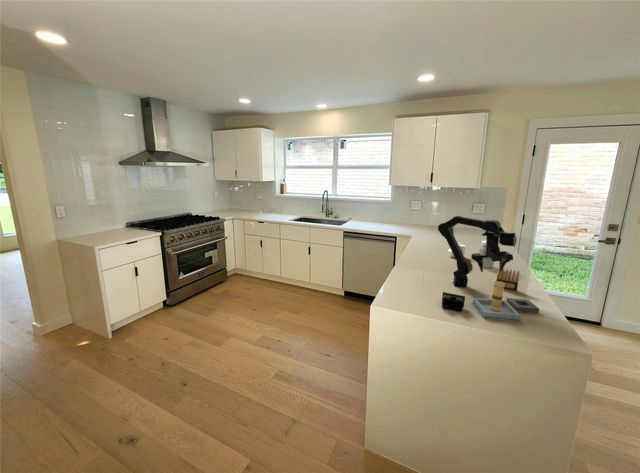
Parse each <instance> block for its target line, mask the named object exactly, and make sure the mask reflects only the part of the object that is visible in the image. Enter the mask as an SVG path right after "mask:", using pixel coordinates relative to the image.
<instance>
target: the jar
mask: <svg viewBox="0 0 640 473" xmlns="http://www.w3.org/2000/svg"><path fill="white" fill-rule="evenodd" d="M485 245H486V239H485V240H481V244H480V246H479V250H478V253H480V254H481V255H486V254H485V252H486V247H485ZM482 261H483V269H492V268H493V267H494V264H495V262H494V261H492V259H483V260H482ZM476 263H477V262H476ZM477 265H478V263H477ZM478 267H479V265H478Z"/></svg>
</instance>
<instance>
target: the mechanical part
mask: <svg viewBox="0 0 640 473" xmlns="http://www.w3.org/2000/svg"><path fill="white" fill-rule="evenodd" d="M458 245H459V247H460V249H461V251H462V253H463V255H464V256H465V254H466V249H467V246H466V245H465V244H462V243H461V242H460V241H458ZM448 253H450V255H451V256H450V257H451V258H453V257H454V255H453V252H452V250H451V248H449V249H448Z"/></svg>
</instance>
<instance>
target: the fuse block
mask: <svg viewBox="0 0 640 473" xmlns="http://www.w3.org/2000/svg"><path fill="white" fill-rule="evenodd" d="M506 301H507V302H508V303H509V304H510V305H511V306H512V307H513V308H514V309H515V310H516V311H517V312H518V313H528V314H539V312H540V308H539V307H538V306H537V305H536V304H534V303H533V302H532V301H531V300H530V299H526V298H525V299H524V298H516V297H515V298H512V297H506Z"/></svg>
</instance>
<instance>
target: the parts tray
mask: <svg viewBox="0 0 640 473" xmlns="http://www.w3.org/2000/svg"><path fill="white" fill-rule="evenodd" d="M491 301H492V298H491V299H489V298H477V297H472V305H473V306H474V307H475V309H476V311H478V312H479V314H480V315H481V316H482V318H483V319H487V320H488V319H489V320H498V321H499V320H501V321H511V322H521V316H522V315H521V314H520V312H517V311H516V310H515V309H514V308H513V307H512V306H511V305H510V304H509V303H508V302H507V301H506V300H503V299H502V302H501V309H500V312H494V311H492V310H490V306H491Z"/></svg>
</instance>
